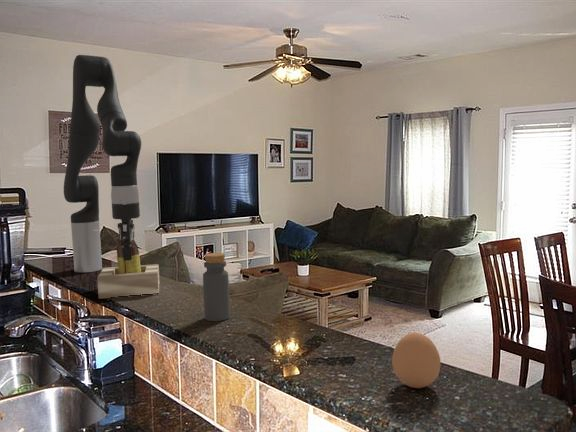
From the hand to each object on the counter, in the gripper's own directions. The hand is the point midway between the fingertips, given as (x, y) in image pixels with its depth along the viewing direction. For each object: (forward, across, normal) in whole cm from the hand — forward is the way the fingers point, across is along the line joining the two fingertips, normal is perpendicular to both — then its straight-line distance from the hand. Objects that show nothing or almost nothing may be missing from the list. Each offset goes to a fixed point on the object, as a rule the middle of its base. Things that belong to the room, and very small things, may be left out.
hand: (128, 257), depth 155 cm
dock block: (+10, 0, 0) cm, 10 cm away
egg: (+10, +84, +49) cm, 98 cm away
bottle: (+10, +36, +22) cm, 43 cm away
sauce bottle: (+10, 0, 0) cm, 10 cm away
